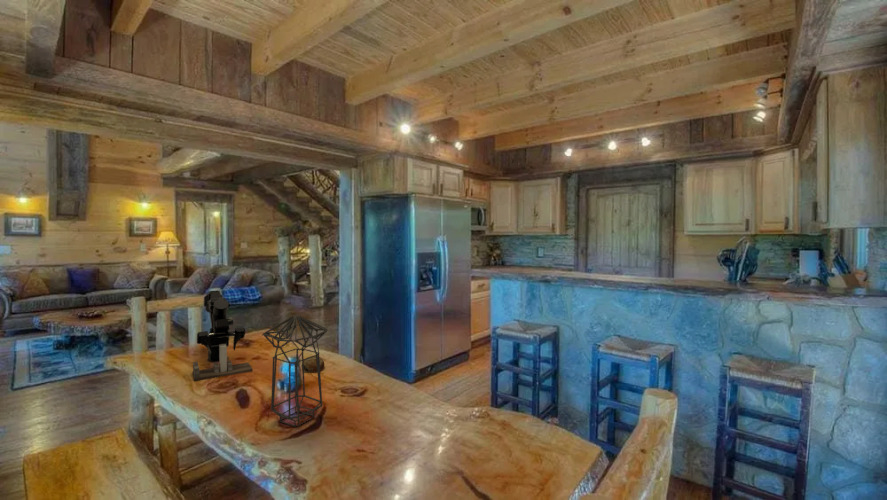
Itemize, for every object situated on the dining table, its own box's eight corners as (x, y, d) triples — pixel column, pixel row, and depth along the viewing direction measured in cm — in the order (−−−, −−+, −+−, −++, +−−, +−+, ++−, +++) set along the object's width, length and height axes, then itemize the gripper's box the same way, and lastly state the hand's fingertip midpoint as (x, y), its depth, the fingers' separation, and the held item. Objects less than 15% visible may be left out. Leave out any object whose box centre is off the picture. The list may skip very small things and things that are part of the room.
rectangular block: (219, 368, 173) (219, 344, 173) (227, 367, 175) (227, 343, 174) (220, 372, 169) (220, 347, 169) (228, 370, 171) (228, 346, 170)
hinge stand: (192, 373, 170) (192, 362, 170) (248, 364, 183) (248, 353, 182) (194, 381, 161) (194, 369, 161) (252, 371, 174) (252, 360, 173)
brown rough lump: (299, 378, 176) (294, 364, 173) (312, 362, 185) (307, 349, 181) (318, 380, 173) (313, 367, 170) (330, 364, 182) (326, 351, 178)
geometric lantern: (331, 416, 131) (331, 313, 129) (292, 437, 118) (291, 323, 115) (300, 405, 139) (299, 308, 137) (259, 423, 125) (258, 316, 123)
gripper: (197, 313, 169) (199, 345, 160) (244, 309, 179) (249, 338, 171) (195, 328, 175) (197, 358, 167) (242, 323, 186) (246, 352, 178)
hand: (223, 351), depth 170 cm, fingers open, 8 cm apart
